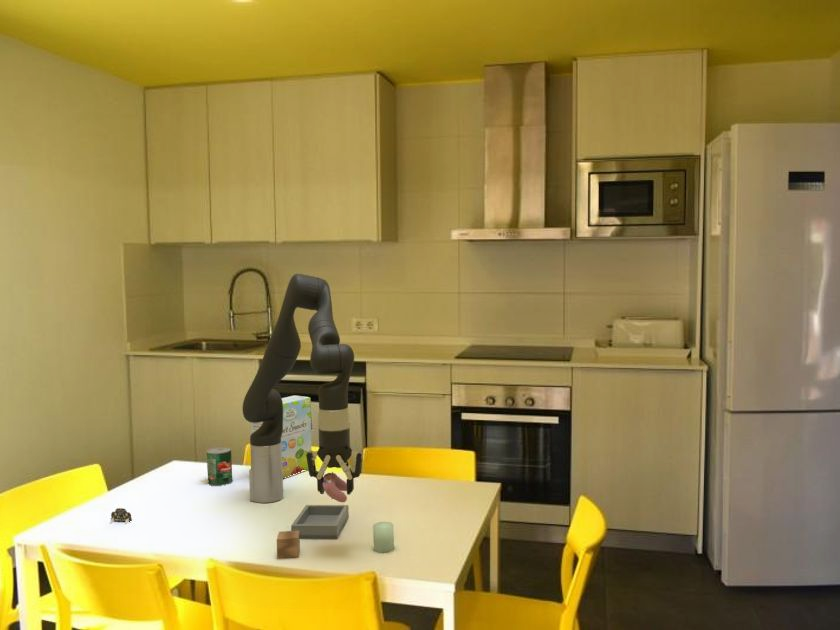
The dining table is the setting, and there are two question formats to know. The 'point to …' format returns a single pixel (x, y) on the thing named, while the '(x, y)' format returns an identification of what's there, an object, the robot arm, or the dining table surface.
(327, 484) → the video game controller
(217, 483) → the canned tomato
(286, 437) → the snack box
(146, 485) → the dining table surface
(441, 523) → the dining table surface
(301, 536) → the charcoal tray
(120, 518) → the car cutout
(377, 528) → the sage cylinder
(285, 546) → the walnut cube
